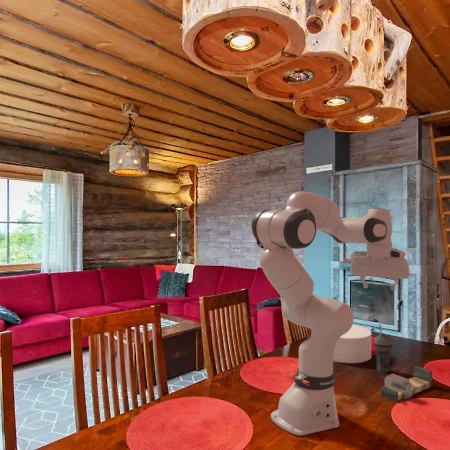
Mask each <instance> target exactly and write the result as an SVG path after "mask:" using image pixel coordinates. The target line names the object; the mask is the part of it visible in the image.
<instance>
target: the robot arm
mask: <svg viewBox="0 0 450 450" xmlns="http://www.w3.org/2000/svg"><path fill="white" fill-rule="evenodd" d="M340 214H341V212H340V207H339V206H338V204H337V203H335V201H333V200H331V199H330V198H328V197H325V196H323V195H320V194H317V193H314V192H311V191H310V192H309V191H302V190H301V191H296V192H294V193H292V194H291V195H289V196H288V199H287V201H286V204H285V209H265V210H261V211H259V212H257V213H255V215H254V216H253V218H252V221H251V232H252V235H253V237H254V238H255V240H256V245H257V246H258V247H259V248H260V249H263V251H262V252H261V254H260V257H259V265H260V267H261V269H262V272H263V273H264V275H265V277H266V278H267V280H268V281H269V283H270V284H271V286H272V287H273V288H274V289H275V290H276V291H277V293H278V294H279V296H280V297H281V298H282V300H283V302H282V305H281V312H282V314H283V317H284V318H285V319H286V320H287V321H289V322H291V323H292V324H295V325H297V326H300V327H303V328H307V329H310V331H311V332H310V337H309V338H308V339H306V340H304V341H303V342H302V343H301V344H300V345H299V348H298V368H297V371H296V373H294V372H291V371H290V373H289V374H288V378H289V379H291V380H292V381H294V382H293V383H292V384H291V385H290V386H289V388H288V389H287V390H286V391H285V392H284V393H283V394H282V395H281V396H280V397H279V402H278V409H276V410H274V411H272V412H271V413H270V419H271V420H272V422H274V423H275V424H276V425H277V426H278V427H279V428H281V429H283V430H284V431H286V432H287V433H291V434H293V435H296V436H299V437H300V436H301V437H302V436H307V435H310V434H313V433H318V432H322V431H327V430H331V429H335V428H339V427H340V420H339V414H338V410H337V402H336V401H337V400H336V395H335V388H334V386H335V380H336V379H335V378H336V377H335V372H334V361H333V355H334V348H335V345H336V343H337V341H338V339H339V338H340V337H341V336H342V335H344V334H345V333H347V332H348V331H349V330H350V329H351V327H352V325H354V318H355V317H354V313H353V310H352V308H351V307H350V305H349V304H347V303H345V302H342V301H341V300H338V299H335V298H331V297H326V296H325V297H324V296H319V295H316V294H314V293H313V292H314V287H315V286H314V285H315V284H314V280H313V279H312V277H311V276H310V274H309V273H308V271H306V269H305V267H304V266H303V265H302V263H301V262H300V261H299V260H298V259H297V257H296V255H295V253H294V250H299V249H300V250H301V249H305V248H308V247H310V245H312V243H313V241H314V240H315V238H316V236H317V235H316V234H317V231H318V232H323V233H325V234H327V235H329V236H331V237H332V239H333V240H334V241H336V243H339V244H366V251H358V250H355V251H353V252H352V253H350V261H351V264H350V274H351V275H352V276H359V279H360V280H361V282H362V284H363V285H362V286H363V289H368V288H369V282H366V280H365V279H366V277H374V278H386V279H387V278H388V279H393V282H394V283H393V284H390V287H389V288H390V291H393V292H394V291H396V287H397V286H396V285H397V284H398V283H399V281H400V279H403V280H406V279H408V278H410V264H409V262H408V260H407V258H405V257H406V252H405V251H404V250H401V249H397V248H393V241H392V234H393V223H392V215H391V212H390V211H389V210H388V209H387V208H379V207H375V208H374V207H373V208H369V209H368V212H367V213H366V214H365V215H363V216H359V217H358V216H357V217H354V216H353V217H352V216H351V217H343V216H341V215H340Z"/></svg>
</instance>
